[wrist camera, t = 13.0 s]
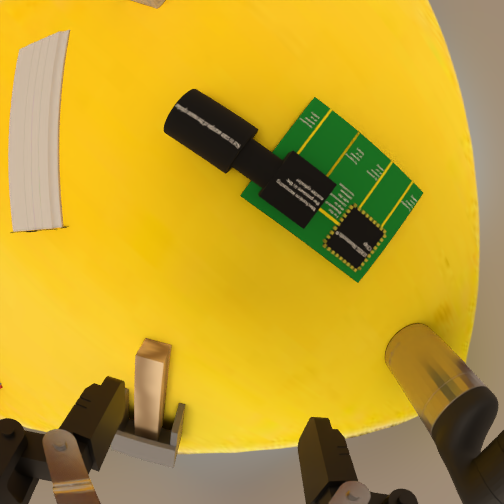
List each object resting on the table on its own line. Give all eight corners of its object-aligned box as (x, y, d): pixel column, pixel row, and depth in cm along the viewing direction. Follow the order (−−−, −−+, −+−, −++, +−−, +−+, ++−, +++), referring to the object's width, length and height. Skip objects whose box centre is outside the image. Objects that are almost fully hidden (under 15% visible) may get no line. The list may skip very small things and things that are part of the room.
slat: (171, 344, 42) (163, 363, 37) (163, 422, 47) (157, 441, 42) (146, 337, 42) (135, 355, 37) (142, 416, 46) (134, 434, 42)
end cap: (185, 404, 45) (176, 438, 37) (181, 435, 47) (173, 467, 39) (122, 387, 44) (106, 418, 37) (124, 420, 46) (111, 450, 39)
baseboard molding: (79, 29, 30) (24, 51, 30) (70, 22, 28) (14, 47, 28) (73, 226, 38) (19, 230, 38) (62, 229, 35) (8, 233, 35)
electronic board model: (444, 196, 30) (371, 298, 33) (417, 191, 37) (353, 278, 40) (237, 29, 25) (150, 139, 29) (239, 52, 32) (167, 145, 35)
